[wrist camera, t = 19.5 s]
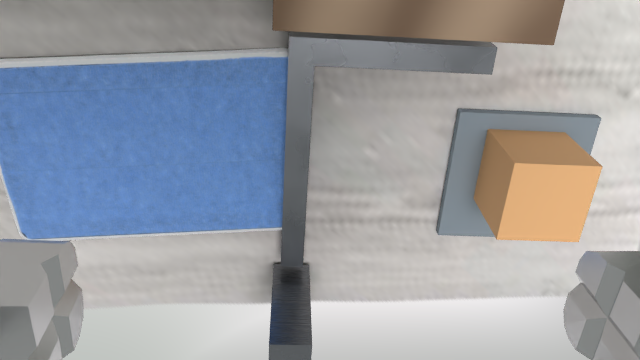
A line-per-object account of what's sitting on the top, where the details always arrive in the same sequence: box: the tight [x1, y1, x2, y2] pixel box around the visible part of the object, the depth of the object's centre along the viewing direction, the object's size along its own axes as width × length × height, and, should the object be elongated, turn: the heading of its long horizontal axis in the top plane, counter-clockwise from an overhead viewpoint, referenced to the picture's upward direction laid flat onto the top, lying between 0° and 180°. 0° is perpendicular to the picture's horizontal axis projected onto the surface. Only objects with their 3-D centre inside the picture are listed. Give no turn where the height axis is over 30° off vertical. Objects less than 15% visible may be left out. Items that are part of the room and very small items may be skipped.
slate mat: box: [436, 109, 601, 237], centre depth 38 cm, size 9×9×1 cm
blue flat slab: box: [0, 48, 289, 241], centre depth 37 cm, size 19×13×1 cm, turn 92°
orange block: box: [473, 129, 602, 242], centre depth 35 cm, size 5×5×5 cm
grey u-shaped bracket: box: [269, 31, 497, 360], centre depth 34 cm, size 12×19×8 cm, turn 177°
